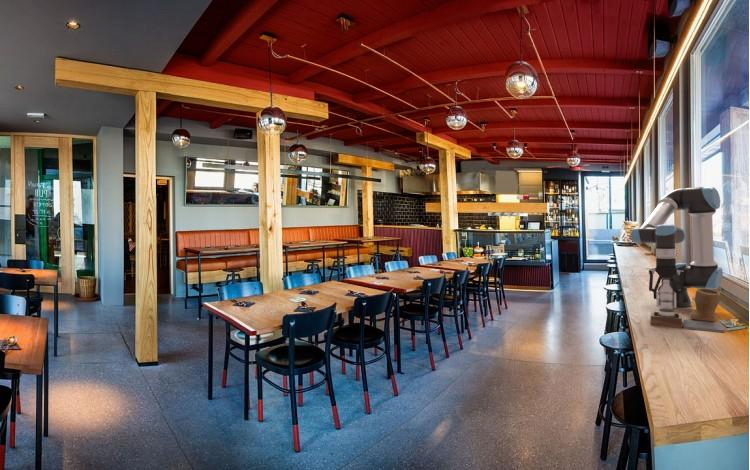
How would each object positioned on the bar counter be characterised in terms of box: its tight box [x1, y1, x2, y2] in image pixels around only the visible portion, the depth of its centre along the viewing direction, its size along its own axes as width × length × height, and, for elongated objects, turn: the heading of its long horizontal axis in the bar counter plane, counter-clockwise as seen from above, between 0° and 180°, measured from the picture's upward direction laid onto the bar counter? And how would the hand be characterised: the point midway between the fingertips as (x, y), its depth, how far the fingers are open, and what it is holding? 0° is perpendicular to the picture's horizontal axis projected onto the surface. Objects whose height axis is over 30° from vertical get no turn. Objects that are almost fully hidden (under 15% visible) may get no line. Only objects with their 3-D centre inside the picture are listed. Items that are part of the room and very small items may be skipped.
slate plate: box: [682, 319, 725, 333], centre depth 189 cm, size 14×14×1 cm
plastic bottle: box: [657, 278, 676, 318], centre depth 196 cm, size 6×7×20 cm
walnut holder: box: [650, 310, 683, 329], centre depth 197 cm, size 12×12×4 cm
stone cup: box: [688, 288, 722, 322], centre depth 201 cm, size 15×12×15 cm
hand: (666, 306), depth 197 cm, fingers closed on plastic bottle, 6 cm apart
